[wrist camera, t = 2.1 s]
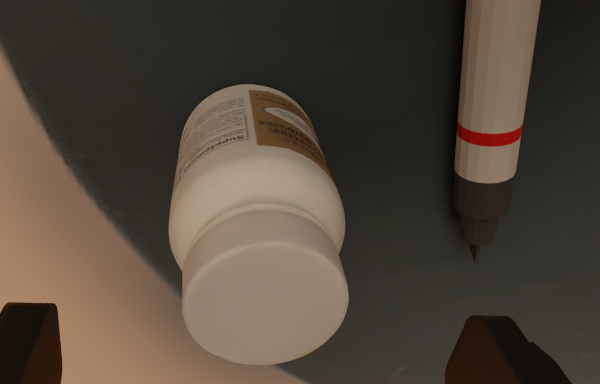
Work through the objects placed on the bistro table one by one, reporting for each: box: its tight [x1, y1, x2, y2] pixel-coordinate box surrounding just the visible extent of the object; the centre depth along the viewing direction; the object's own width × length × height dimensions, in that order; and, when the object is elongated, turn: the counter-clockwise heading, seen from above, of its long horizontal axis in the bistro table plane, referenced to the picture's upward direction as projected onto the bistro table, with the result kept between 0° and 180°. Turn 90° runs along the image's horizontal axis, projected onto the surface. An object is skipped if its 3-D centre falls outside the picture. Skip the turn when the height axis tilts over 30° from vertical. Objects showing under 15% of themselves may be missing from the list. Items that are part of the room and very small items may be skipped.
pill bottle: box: [169, 84, 349, 366], centre depth 14 cm, size 4×4×8 cm
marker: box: [453, 0, 541, 263], centre depth 15 cm, size 15×2×2 cm, turn 6°
